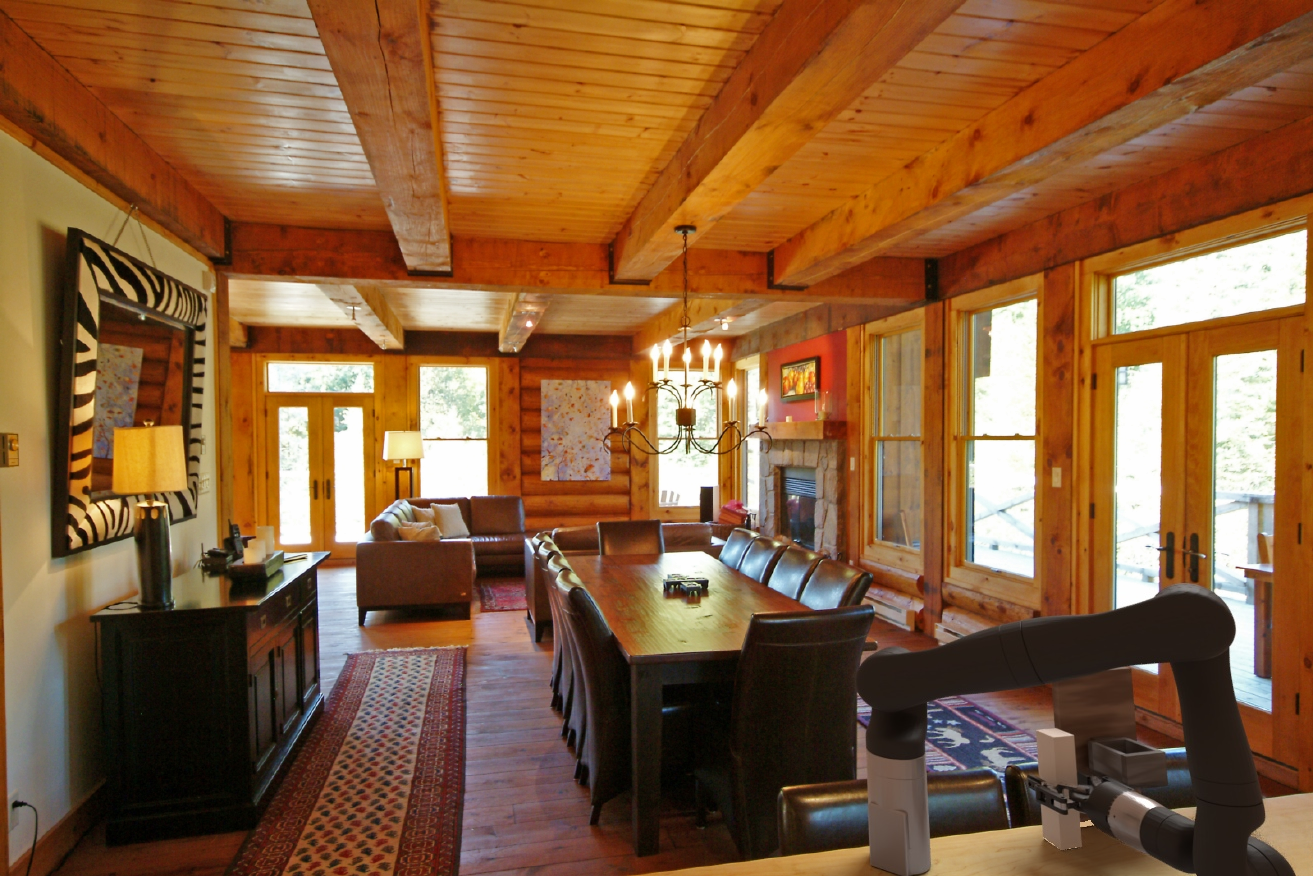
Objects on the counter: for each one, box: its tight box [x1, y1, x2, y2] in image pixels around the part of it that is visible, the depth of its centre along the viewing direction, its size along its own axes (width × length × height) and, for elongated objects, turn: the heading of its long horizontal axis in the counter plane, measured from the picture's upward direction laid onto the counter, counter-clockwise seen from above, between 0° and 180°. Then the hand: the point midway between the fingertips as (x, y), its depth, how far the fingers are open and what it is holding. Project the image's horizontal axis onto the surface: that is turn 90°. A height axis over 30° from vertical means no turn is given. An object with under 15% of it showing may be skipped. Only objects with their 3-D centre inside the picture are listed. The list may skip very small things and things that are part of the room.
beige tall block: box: [1035, 727, 1083, 851], centre depth 119 cm, size 4×4×18 cm
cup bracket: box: [1051, 666, 1169, 822], centre depth 125 cm, size 12×16×26 cm
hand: (1050, 777), depth 121 cm, fingers open, 8 cm apart
